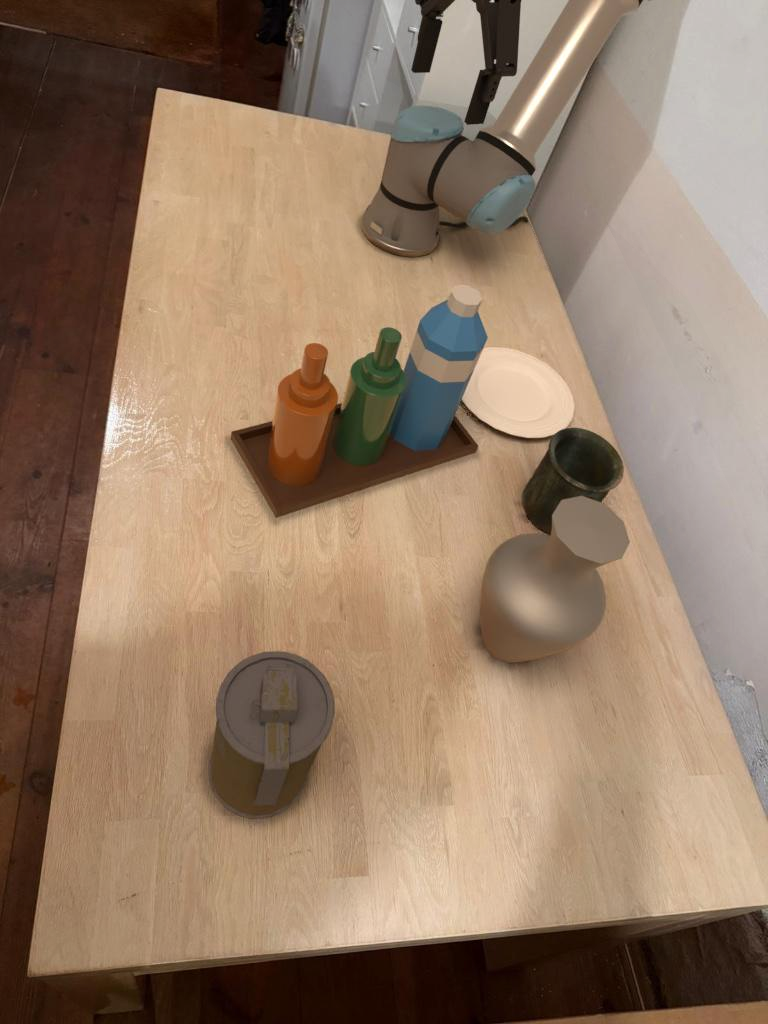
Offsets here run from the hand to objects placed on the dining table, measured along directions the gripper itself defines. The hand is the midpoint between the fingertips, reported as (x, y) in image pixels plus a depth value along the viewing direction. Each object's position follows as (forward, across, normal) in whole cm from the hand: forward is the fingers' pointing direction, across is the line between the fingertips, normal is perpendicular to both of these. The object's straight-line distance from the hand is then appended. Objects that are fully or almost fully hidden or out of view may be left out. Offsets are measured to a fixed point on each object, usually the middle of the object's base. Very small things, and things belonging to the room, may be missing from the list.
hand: (446, 96), depth 101 cm
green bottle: (+36, +26, -20) cm, 49 cm away
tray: (+37, +26, -20) cm, 49 cm away
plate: (+37, +25, +10) cm, 46 cm away
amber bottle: (+36, +26, -31) cm, 54 cm away
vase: (+37, +61, -18) cm, 74 cm away
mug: (+37, +48, +1) cm, 61 cm away
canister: (+37, +62, -53) cm, 90 cm away
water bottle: (+36, +26, -10) cm, 46 cm away
